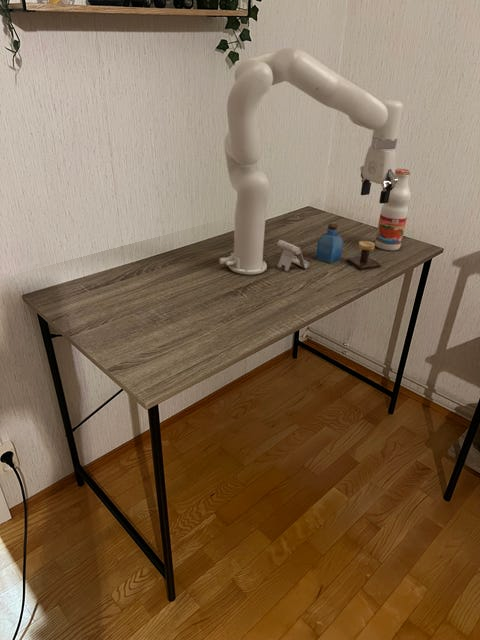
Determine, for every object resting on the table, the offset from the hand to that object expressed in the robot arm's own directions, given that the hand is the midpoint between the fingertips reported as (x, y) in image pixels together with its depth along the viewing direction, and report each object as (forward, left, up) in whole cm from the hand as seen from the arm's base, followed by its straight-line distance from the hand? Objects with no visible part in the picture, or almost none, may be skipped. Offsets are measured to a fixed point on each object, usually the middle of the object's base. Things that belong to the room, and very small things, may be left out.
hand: (374, 198), depth 160 cm
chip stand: (-2, -3, -22) cm, 22 cm away
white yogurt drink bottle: (+17, +8, -22) cm, 29 cm away
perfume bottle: (-11, +5, -22) cm, 25 cm away
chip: (-2, -3, -16) cm, 16 cm away
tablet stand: (-27, +3, -22) cm, 35 cm away
